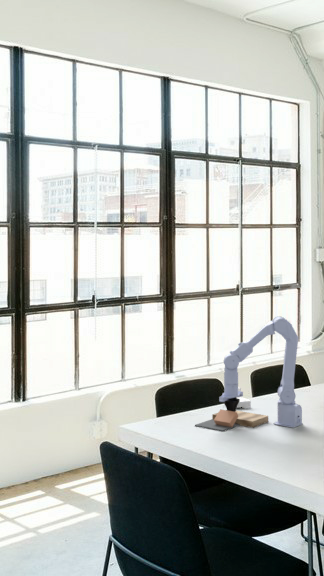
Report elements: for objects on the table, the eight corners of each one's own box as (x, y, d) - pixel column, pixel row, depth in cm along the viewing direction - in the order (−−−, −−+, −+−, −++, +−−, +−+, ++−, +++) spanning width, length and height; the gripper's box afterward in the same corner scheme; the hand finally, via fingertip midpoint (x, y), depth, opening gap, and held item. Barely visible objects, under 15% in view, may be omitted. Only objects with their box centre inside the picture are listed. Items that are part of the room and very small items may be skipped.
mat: (239, 425, 277) (239, 424, 277) (223, 431, 268) (223, 430, 268) (212, 420, 286) (212, 419, 286) (194, 426, 277) (194, 424, 277)
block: (238, 416, 276) (236, 412, 274) (231, 427, 272) (229, 422, 271) (222, 413, 281) (220, 409, 280) (215, 424, 277) (213, 419, 276)
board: (268, 421, 282) (268, 415, 282) (252, 427, 273) (252, 421, 273) (228, 414, 295) (228, 409, 295) (212, 420, 286) (212, 414, 286)
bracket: (224, 404, 318) (224, 388, 318) (238, 402, 321) (238, 386, 320) (236, 409, 306) (236, 393, 306) (250, 408, 308) (250, 392, 308)
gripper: (233, 379, 286) (233, 411, 287) (212, 385, 275) (213, 418, 276) (247, 381, 282) (247, 414, 283) (227, 387, 271) (227, 420, 272)
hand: (231, 416), depth 279 cm, fingers closed
